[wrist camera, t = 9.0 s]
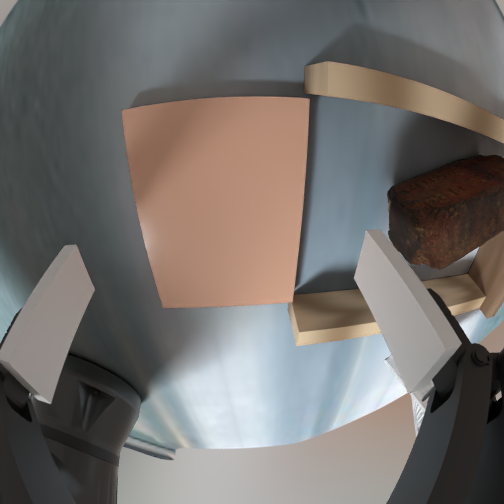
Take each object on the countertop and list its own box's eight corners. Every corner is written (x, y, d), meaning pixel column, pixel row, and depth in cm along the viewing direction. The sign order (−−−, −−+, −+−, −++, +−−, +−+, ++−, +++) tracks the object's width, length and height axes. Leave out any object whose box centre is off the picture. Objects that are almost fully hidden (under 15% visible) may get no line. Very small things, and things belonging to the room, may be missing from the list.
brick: (481, 147, 13) (527, 166, 9) (483, 194, 15) (524, 218, 11) (377, 188, 14) (425, 219, 10) (386, 243, 16) (426, 284, 12)
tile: (165, 298, 19) (162, 308, 18) (128, 108, 11) (121, 110, 11) (289, 292, 19) (292, 302, 19) (304, 97, 12) (309, 98, 11)
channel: (287, 309, 20) (300, 363, 16) (304, 66, 11) (342, 58, 7) (470, 283, 22) (494, 315, 17) (518, 133, 12) (558, 155, 8)
